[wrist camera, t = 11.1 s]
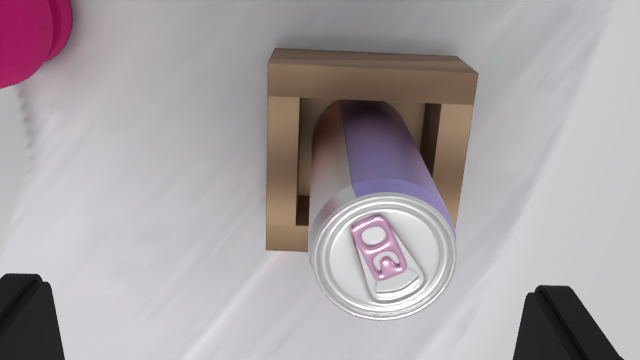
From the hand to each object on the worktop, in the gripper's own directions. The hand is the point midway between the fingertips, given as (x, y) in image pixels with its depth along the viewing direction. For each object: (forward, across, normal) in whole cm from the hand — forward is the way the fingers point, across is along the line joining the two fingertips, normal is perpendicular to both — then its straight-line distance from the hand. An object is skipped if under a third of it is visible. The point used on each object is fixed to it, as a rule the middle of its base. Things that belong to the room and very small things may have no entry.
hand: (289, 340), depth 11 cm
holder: (+25, -3, +5) cm, 26 cm away
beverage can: (+25, -3, +5) cm, 26 cm away
